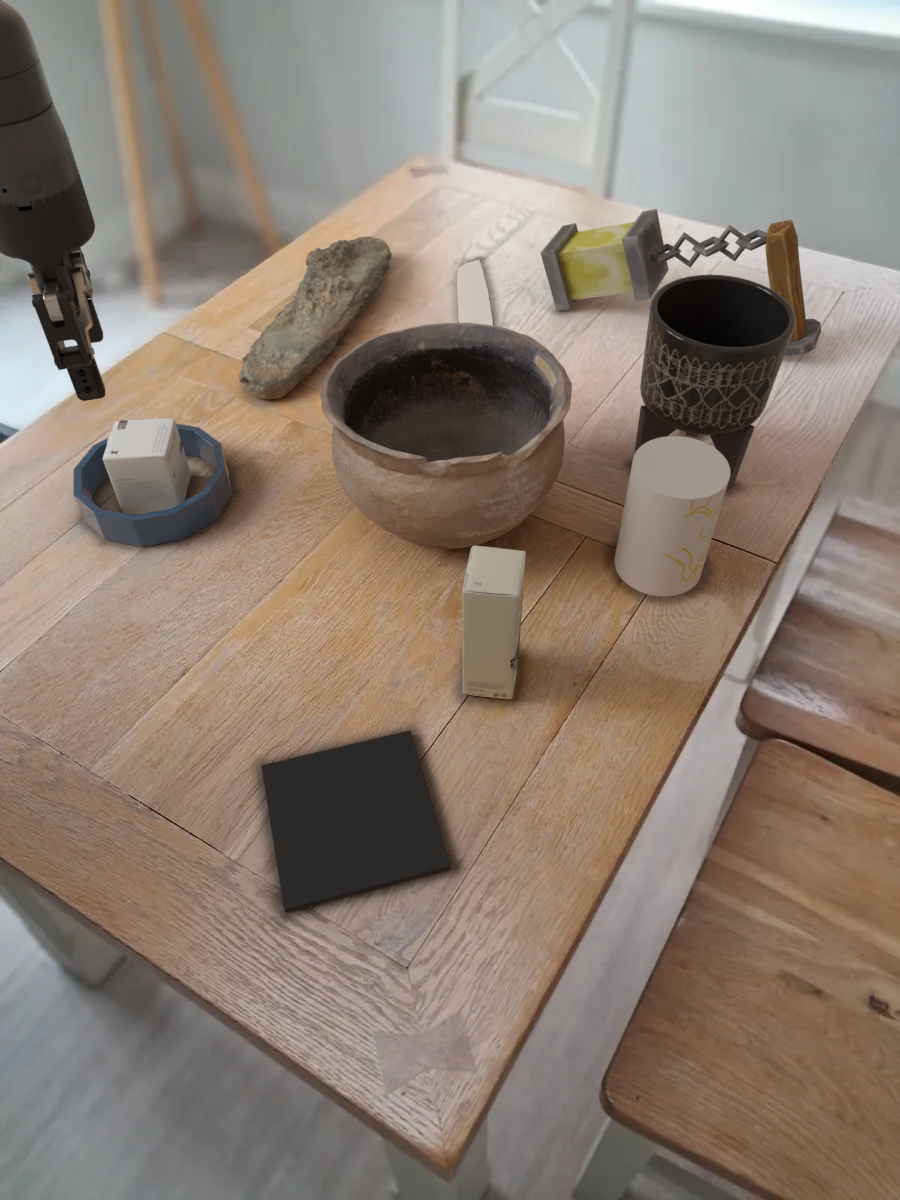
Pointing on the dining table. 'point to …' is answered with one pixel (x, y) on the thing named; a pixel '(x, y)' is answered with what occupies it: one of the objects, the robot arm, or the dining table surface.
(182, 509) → the faceted polygonal ring
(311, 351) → the long grey stone
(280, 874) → the coaster
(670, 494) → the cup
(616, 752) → the dining table surface
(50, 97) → the robot arm
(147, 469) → the product carton
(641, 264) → the lantern
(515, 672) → the box
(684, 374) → the planter
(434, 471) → the ceramic bowl
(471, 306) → the knife
